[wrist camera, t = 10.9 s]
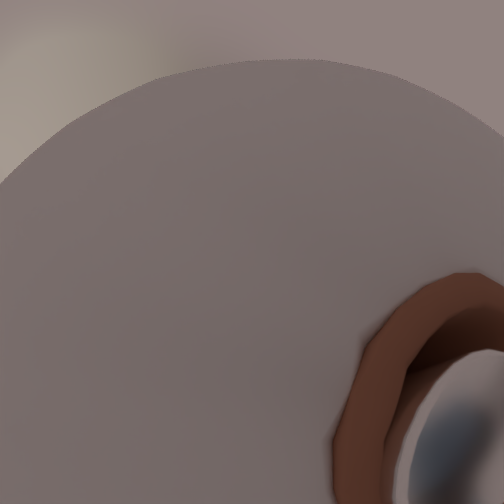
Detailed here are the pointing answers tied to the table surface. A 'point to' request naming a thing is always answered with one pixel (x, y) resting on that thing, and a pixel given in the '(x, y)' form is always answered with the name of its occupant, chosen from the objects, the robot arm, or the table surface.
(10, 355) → the shiny metal cylinder
